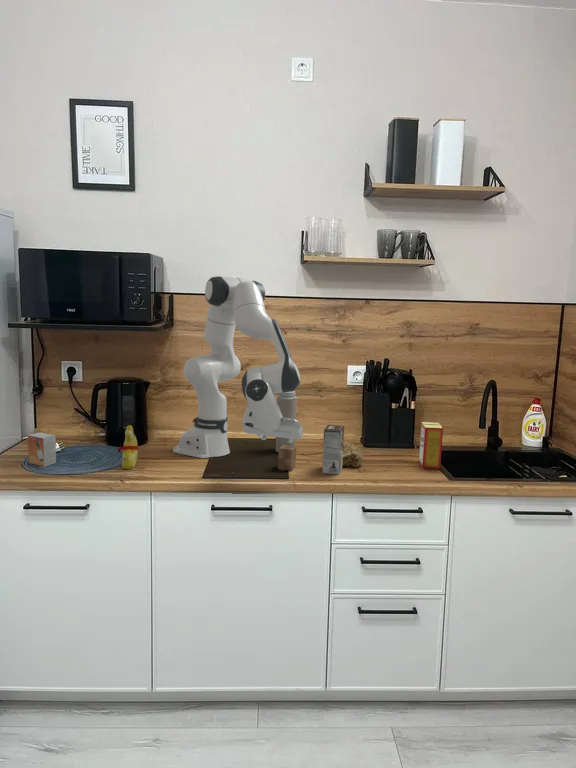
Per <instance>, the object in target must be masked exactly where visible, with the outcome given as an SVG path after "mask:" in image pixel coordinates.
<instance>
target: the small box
mask: <svg viewBox="0 0 576 768" xmlns="http://www.w3.org/2000/svg"><path fill="white" fill-rule="evenodd" d="M56 439H57V438H56V434H48V433H45V432H36V433H32V434H29V435H27V448H28V449H27V452H28V453H27V455H28V456H27V457H28V459H27V460H28V463H29V464H32V465H36V466H40V467H47V466H51V465H55V464H56V463H57V444H56V443H57V441H56Z"/></svg>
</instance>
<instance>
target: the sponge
mask: <svg viewBox="0 0 576 768" xmlns="http://www.w3.org/2000/svg"><path fill="white" fill-rule="evenodd" d="M363 458H364V456H363V452H362V450H361V449H360V448H359V447H358V446H357V445H355V444H354V443H351V442H347V441H344V445H343V466H345V467H352V468H357V467H359V466H360V465H361V464H362V462H363Z"/></svg>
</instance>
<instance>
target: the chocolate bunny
mask: <svg viewBox="0 0 576 768" xmlns="http://www.w3.org/2000/svg"><path fill="white" fill-rule="evenodd" d="M124 434H125V436H124V441H123V446H121V445H120V446H119V447H118V448H117V453H116V454H119V453H120V452H121V451H122V457H121V468H122V469H123V470H124V469H125V470H131V469H132V470H133V469H134V468H135V465H136V464H137V462H138V450H139V446H138V440H137V437H136V434H135V430H134V427H133V426H132V425H130V424H128V425H127V426H126V428H125V432H124Z"/></svg>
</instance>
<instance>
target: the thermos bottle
mask: <svg viewBox="0 0 576 768" xmlns="http://www.w3.org/2000/svg"><path fill="white" fill-rule="evenodd" d="M296 395H297V394H296V391H295V390H294V391H292V392H284V393H283V392H282V393H278V395H277V396H276V401H277V405H278V406H279V409H280V411H281V414H282V417H283V418H290V419H295V420H297V410H298V408H297V405H298V397H297V396H296ZM287 439H288V438H282V437H275V452H276V451H277V452H276V453H278V452H279V448H280V447H281V446H283V445H286V446H295V447H296V440H297V439H293V442H292V443H288V442H287Z"/></svg>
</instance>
